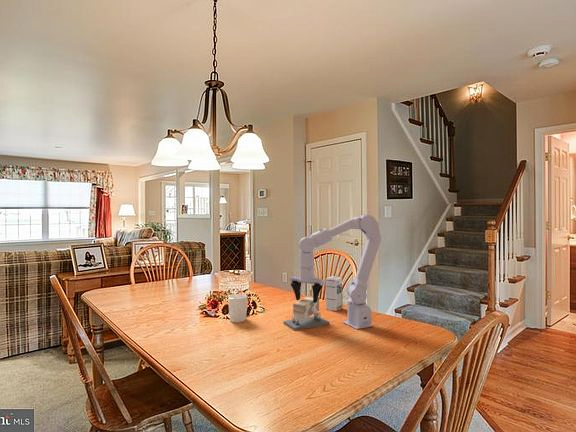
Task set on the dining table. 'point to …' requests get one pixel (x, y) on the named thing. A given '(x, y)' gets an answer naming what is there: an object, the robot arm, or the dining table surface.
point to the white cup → (237, 307)
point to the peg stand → (306, 322)
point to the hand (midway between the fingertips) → (306, 301)
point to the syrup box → (334, 293)
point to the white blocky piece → (305, 308)
